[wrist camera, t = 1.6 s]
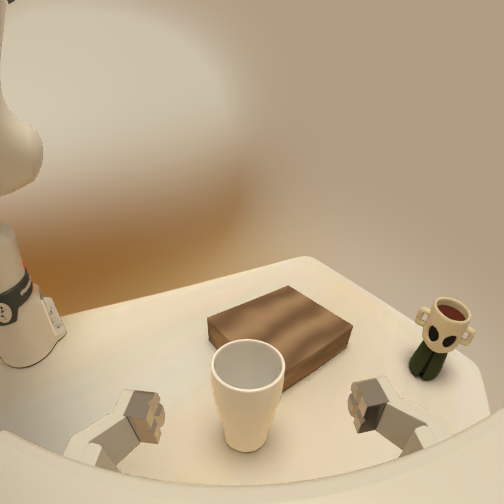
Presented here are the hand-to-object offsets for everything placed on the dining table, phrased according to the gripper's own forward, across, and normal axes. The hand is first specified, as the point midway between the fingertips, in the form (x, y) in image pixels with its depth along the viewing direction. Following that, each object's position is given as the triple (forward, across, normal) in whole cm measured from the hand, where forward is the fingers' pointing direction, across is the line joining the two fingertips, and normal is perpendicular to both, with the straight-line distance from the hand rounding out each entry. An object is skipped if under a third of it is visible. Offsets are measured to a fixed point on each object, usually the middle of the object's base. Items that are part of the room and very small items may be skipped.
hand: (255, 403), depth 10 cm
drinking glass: (+14, +2, +22) cm, 26 cm away
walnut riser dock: (+31, -4, +20) cm, 37 cm away
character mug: (+22, -29, +23) cm, 43 cm away
